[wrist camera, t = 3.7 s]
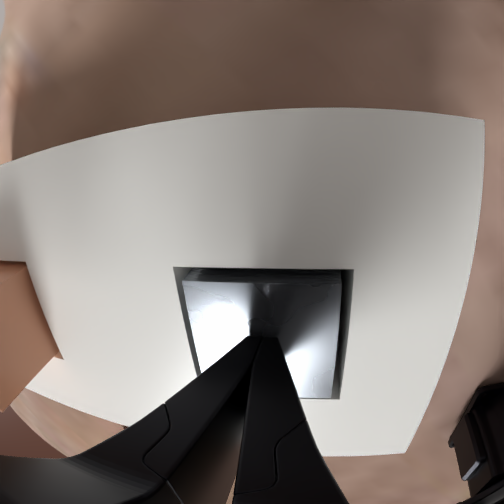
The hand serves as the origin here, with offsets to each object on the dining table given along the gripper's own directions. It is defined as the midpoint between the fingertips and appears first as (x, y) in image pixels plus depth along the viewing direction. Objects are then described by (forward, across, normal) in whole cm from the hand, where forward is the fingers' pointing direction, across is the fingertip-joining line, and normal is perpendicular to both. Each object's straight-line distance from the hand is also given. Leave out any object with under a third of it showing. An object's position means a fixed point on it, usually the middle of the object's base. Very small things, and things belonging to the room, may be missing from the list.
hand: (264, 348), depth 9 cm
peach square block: (+2, +11, 0) cm, 11 cm away
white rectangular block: (+6, +6, 0) cm, 8 cm away
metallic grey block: (+5, 0, 0) cm, 5 cm away
